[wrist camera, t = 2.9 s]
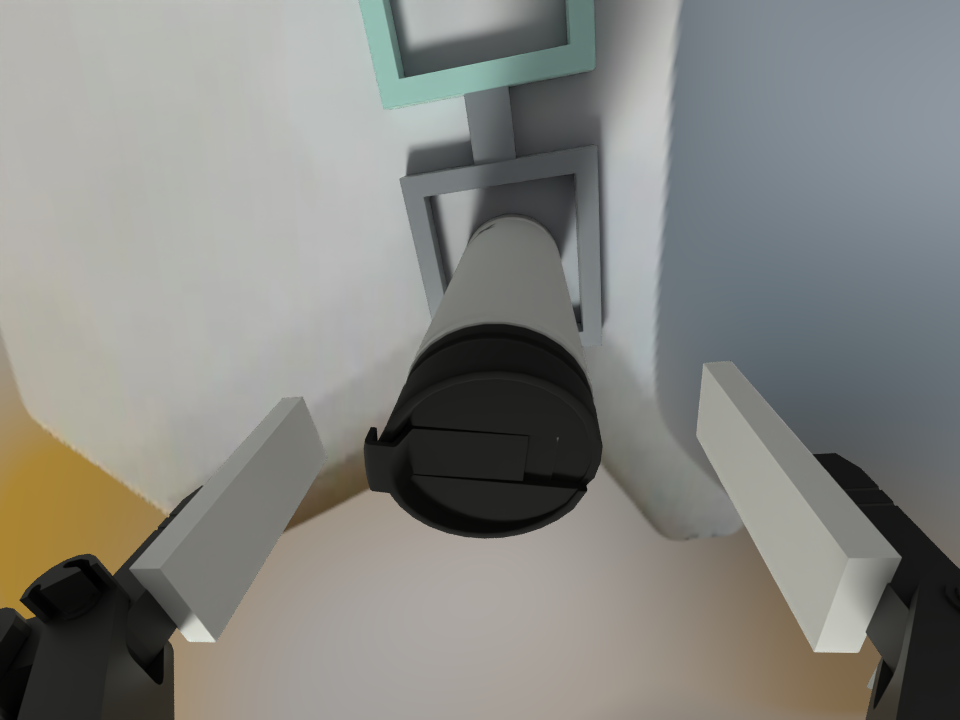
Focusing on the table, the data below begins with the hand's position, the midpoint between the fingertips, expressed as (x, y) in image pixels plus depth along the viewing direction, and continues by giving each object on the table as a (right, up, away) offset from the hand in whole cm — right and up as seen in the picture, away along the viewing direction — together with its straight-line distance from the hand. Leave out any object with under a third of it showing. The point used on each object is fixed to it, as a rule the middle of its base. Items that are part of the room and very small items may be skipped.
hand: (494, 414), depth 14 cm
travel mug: (+1, +9, +15) cm, 17 cm away
